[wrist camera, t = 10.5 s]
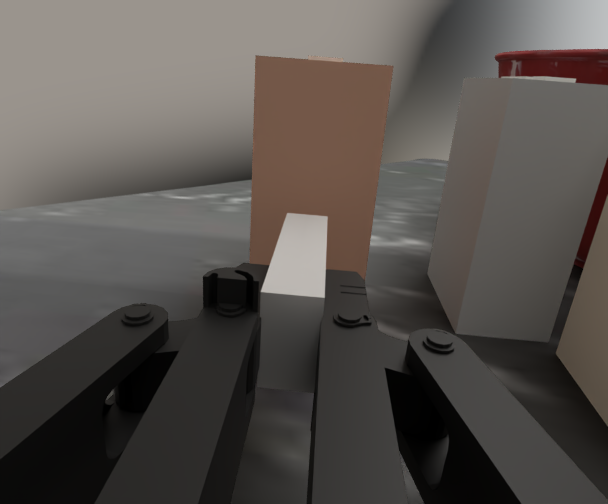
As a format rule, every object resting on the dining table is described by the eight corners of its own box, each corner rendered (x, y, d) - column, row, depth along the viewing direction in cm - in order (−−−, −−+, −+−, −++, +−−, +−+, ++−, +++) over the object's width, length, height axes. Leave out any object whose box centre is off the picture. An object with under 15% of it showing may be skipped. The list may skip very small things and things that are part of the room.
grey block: (427, 273, 32) (464, 74, 27) (498, 280, 32) (549, 80, 27) (455, 333, 24) (514, 73, 20) (548, 342, 24) (631, 82, 19)
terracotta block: (269, 283, 29) (280, 58, 24) (348, 291, 28) (375, 65, 24) (246, 356, 21) (255, 49, 16) (353, 367, 21) (394, 59, 16)
